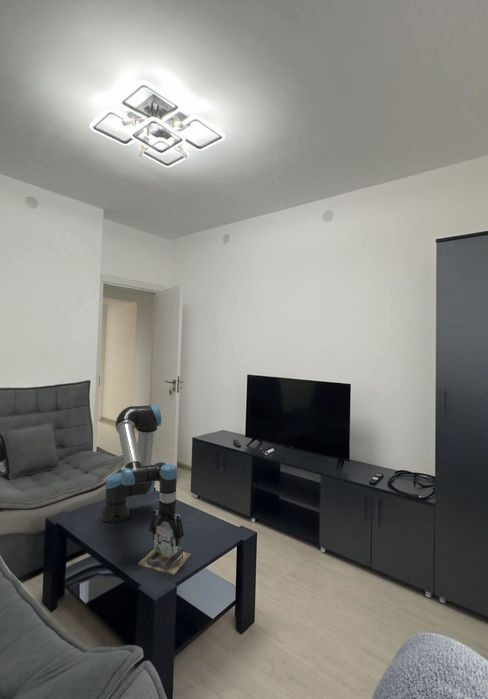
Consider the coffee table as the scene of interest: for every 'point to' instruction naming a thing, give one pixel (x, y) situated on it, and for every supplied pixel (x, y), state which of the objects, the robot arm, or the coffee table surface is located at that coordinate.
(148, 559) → the header board
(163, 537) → the ink box
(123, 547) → the coffee table surface
